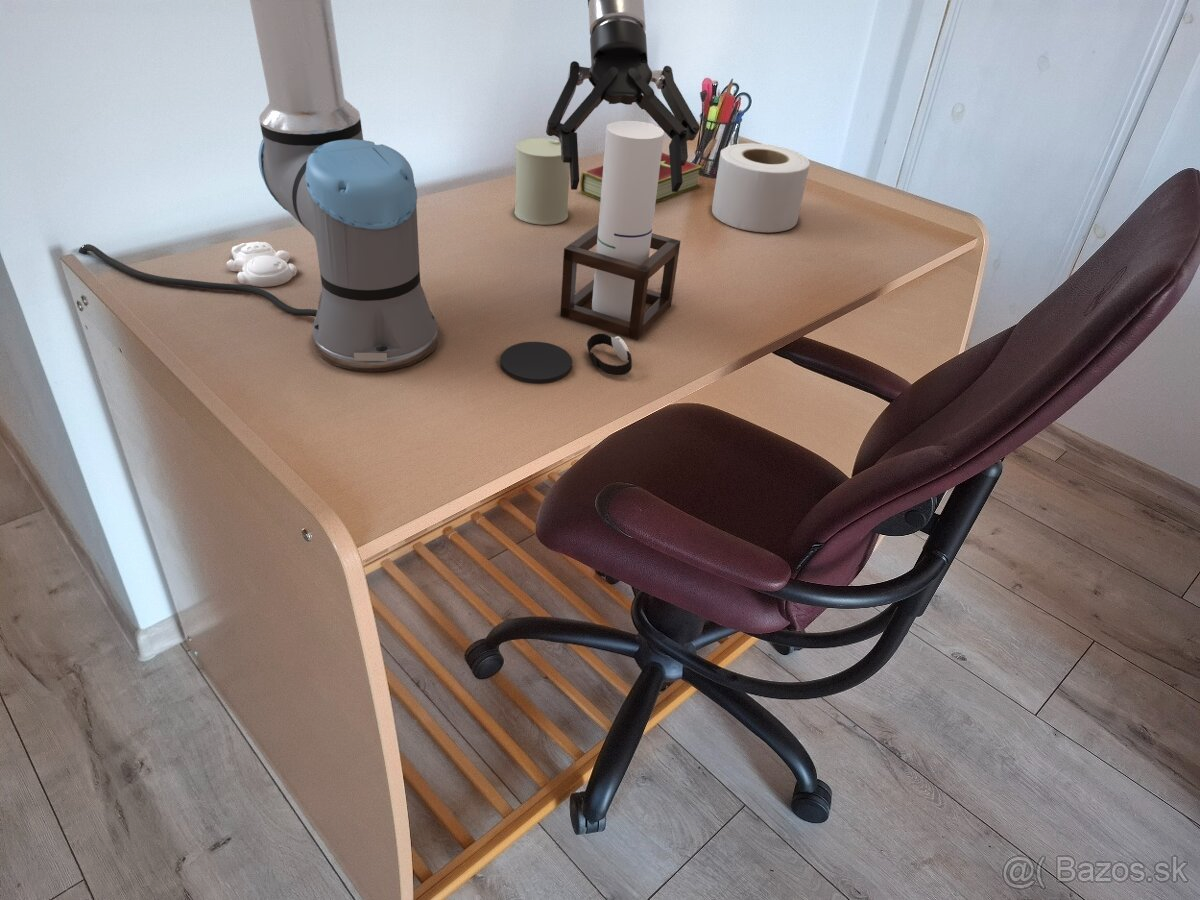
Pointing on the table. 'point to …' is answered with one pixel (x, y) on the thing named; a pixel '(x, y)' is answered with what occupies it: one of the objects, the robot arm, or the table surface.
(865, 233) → the table surface
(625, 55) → the robot arm
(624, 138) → the cylindrical container
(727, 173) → the white paper roll
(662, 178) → the hardcover book
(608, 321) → the rack
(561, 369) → the coaster
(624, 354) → the watch
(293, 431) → the table surface
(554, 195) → the can
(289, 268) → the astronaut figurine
